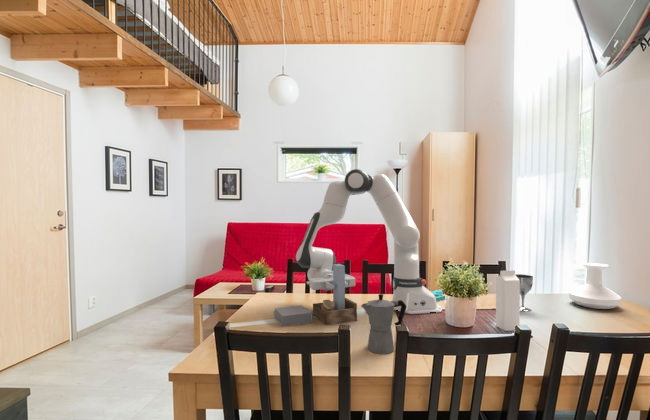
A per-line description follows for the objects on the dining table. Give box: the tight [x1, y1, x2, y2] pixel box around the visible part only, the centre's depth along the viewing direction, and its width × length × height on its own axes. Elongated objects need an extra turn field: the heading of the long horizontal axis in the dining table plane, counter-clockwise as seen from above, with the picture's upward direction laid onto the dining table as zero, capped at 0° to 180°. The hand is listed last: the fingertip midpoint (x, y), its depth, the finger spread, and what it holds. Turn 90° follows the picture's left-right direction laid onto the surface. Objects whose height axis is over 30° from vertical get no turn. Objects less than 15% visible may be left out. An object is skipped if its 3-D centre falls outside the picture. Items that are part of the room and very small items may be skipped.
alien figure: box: [429, 289, 446, 302], centre depth 190 cm, size 20×2×20 cm
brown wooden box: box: [312, 297, 358, 326], centre depth 157 cm, size 14×14×7 cm
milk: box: [495, 270, 521, 332], centre depth 143 cm, size 6×6×22 cm
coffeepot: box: [360, 293, 406, 355], centre depth 123 cm, size 15×9×18 cm, turn 101°
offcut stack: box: [321, 299, 334, 312], centre depth 155 cm, size 3×8×7 cm, turn 23°
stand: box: [274, 304, 313, 327], centre depth 154 cm, size 12×12×4 cm
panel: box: [332, 263, 346, 310], centre depth 157 cm, size 3×5×22 cm, turn 23°
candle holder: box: [568, 262, 622, 310], centre depth 174 cm, size 20×20×19 cm
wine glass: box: [515, 273, 534, 312], centre depth 169 cm, size 8×8×15 cm
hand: (339, 286), depth 156 cm, fingers open, 4 cm apart
